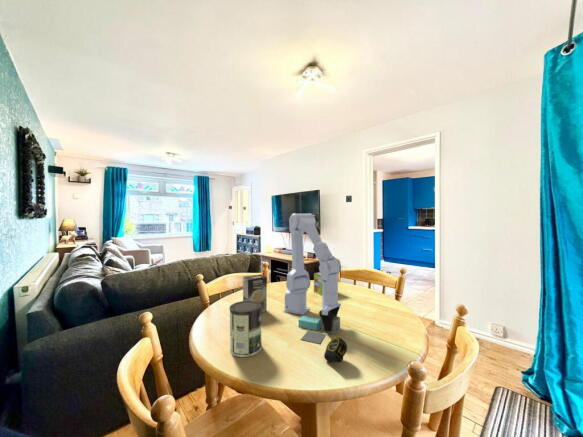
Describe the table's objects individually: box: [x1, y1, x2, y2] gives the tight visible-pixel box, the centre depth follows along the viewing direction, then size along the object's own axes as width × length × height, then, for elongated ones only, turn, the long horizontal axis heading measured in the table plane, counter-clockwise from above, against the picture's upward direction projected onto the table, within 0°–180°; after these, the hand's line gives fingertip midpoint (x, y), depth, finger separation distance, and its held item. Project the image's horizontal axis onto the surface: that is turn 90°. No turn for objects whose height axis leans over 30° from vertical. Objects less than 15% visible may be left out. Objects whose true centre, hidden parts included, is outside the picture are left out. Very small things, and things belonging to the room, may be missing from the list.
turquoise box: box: [298, 315, 322, 332], centre depth 95 cm, size 8×4×3 cm, turn 66°
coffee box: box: [242, 274, 268, 313], centre depth 111 cm, size 9×6×16 cm
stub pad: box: [300, 330, 327, 345], centre depth 87 cm, size 7×7×1 cm
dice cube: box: [321, 315, 341, 336], centre depth 92 cm, size 5×5×5 cm
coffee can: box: [228, 300, 263, 358], centre depth 80 cm, size 10×10×14 cm
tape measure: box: [323, 336, 348, 363], centre depth 73 cm, size 7×7×4 cm
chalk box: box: [313, 272, 323, 297], centre depth 134 cm, size 9×9×15 cm
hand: (330, 327), depth 92 cm, fingers closed on dice cube, 6 cm apart
